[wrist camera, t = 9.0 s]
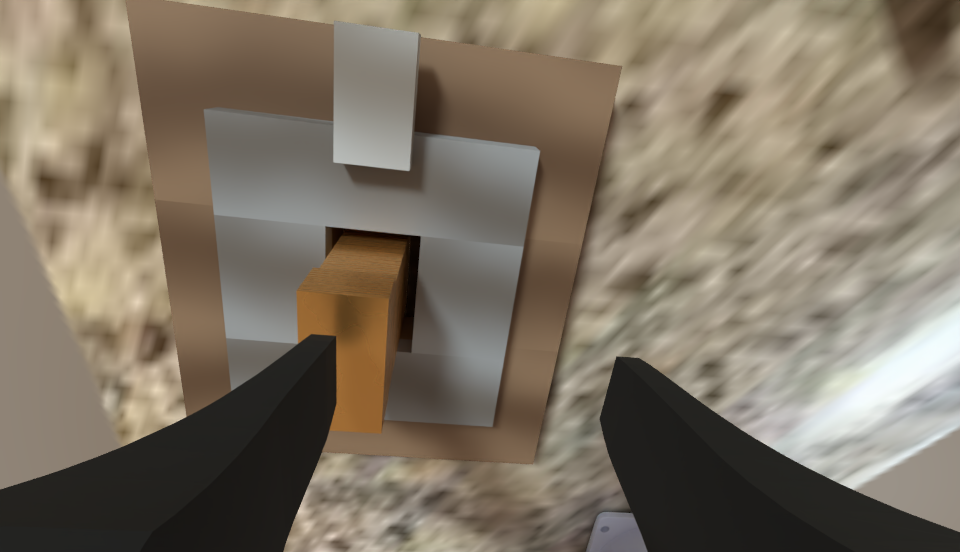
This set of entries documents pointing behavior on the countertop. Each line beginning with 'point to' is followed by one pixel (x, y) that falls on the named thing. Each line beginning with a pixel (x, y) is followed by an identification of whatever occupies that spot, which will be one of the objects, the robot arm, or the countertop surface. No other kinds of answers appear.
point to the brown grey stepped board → (372, 206)
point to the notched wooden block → (359, 320)
